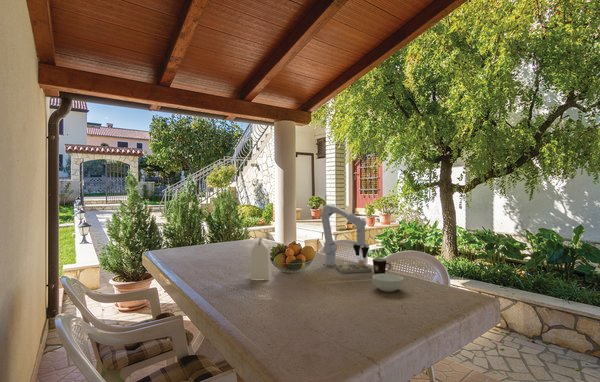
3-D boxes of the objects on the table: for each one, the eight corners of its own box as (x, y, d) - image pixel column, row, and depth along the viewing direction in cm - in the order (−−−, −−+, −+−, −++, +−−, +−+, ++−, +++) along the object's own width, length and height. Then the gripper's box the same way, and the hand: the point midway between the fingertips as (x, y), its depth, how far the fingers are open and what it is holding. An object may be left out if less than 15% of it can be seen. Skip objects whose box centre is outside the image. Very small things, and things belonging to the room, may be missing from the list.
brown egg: (356, 267, 228) (356, 259, 228) (361, 267, 230) (361, 258, 230) (360, 269, 224) (360, 260, 224) (365, 268, 226) (365, 259, 226)
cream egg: (341, 270, 220) (341, 261, 220) (347, 270, 221) (347, 261, 221) (343, 272, 216) (343, 263, 216) (349, 272, 217) (349, 263, 217)
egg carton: (336, 269, 228) (336, 265, 228) (364, 268, 231) (363, 263, 231) (342, 274, 214) (342, 270, 214) (371, 273, 218) (371, 268, 218)
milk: (269, 280, 203) (268, 238, 202) (250, 280, 203) (249, 238, 203) (271, 275, 215) (270, 235, 214) (253, 275, 215) (253, 235, 215)
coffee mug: (370, 274, 214) (370, 258, 214) (381, 273, 217) (381, 257, 217) (379, 278, 203) (379, 262, 203) (392, 277, 206) (391, 261, 206)
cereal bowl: (405, 295, 171) (405, 281, 171) (372, 293, 174) (372, 280, 174) (402, 286, 188) (401, 273, 188) (372, 284, 191) (371, 272, 191)
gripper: (349, 235, 232) (349, 255, 232) (362, 238, 219) (363, 259, 219) (357, 235, 235) (358, 254, 235) (371, 237, 222) (371, 258, 222)
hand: (361, 256), depth 227 cm, fingers open, 7 cm apart
